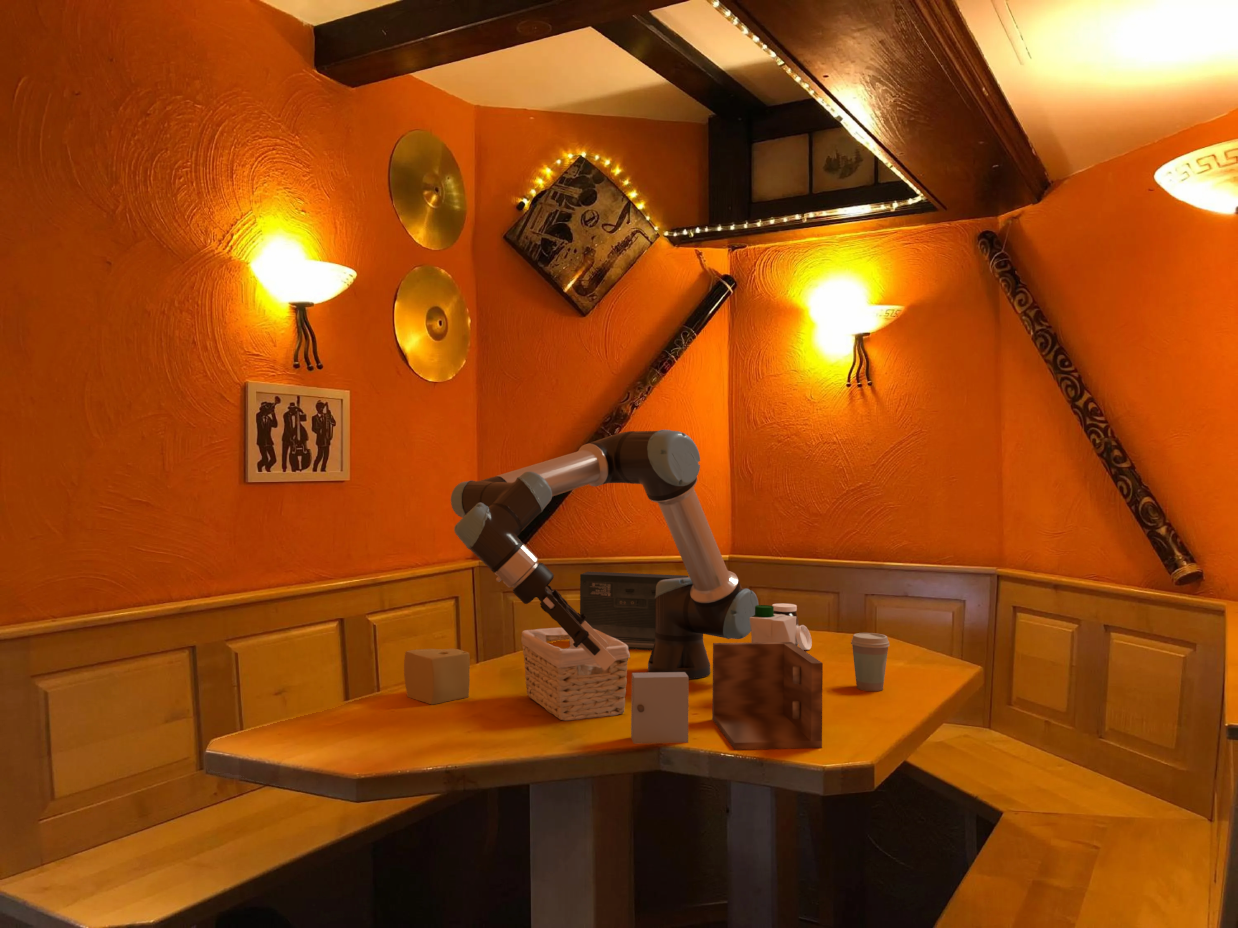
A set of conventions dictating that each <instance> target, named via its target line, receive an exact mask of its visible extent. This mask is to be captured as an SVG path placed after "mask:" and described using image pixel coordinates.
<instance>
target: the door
mask: <svg viewBox="0 0 1238 928" xmlns="http://www.w3.org/2000/svg"><path fill="white" fill-rule="evenodd" d="M689 681H690V679H689V677H688V675H687V674H686V673H685V672H654V673H648V672H631V705H630V706H631V710H630V711H631V718H630V721H631V725H630V726H631V727H630V732H631V733H630V737H631V741H632V743H633V744H636V745H637V744H638V745H639V744H678V743H679V744H680V743H681V744H683V743H689V695H690V694H689V692H690V691H689V687H690V686H689V684H690V683H689Z"/></svg>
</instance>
